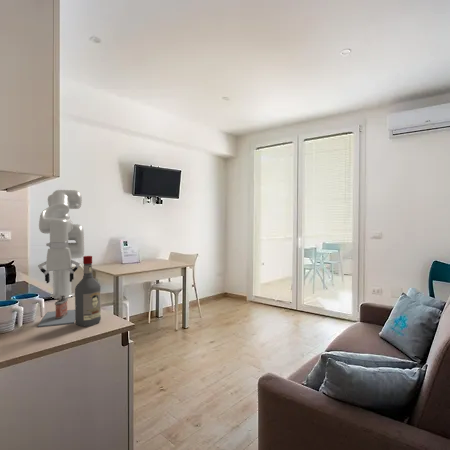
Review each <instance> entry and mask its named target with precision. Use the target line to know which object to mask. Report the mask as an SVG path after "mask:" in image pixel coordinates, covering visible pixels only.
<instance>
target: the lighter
mask: <svg viewBox="0 0 450 450" xmlns="http://www.w3.org/2000/svg"><path fill="white" fill-rule="evenodd" d="M68 299H69V298H65V295H60V296H59V297H57V299H56V301H55V302H54V305H55V311H56V317H55V319H62V318H64V317H65V316H67V315H68V312H67V310H68Z"/></svg>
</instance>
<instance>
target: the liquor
mask: <svg viewBox="0 0 450 450" xmlns="http://www.w3.org/2000/svg"><path fill="white" fill-rule="evenodd" d="M82 260H83V261H82V262H83V263H82V264H83V276H82V279H81V280H80V281H78V283H77V285H76V286H75V288H74V305H75V306H74V308H75V309H74V310H75V322H74V324H75V325H76V326H79V327H83V328H85V327H92V326H94V325H97V324H100V322H101V320H102V317H101V316H102V315H101V313H102V311H101V310H102V309H101V308H102V304H101V303H102V301H101V296H102V295H101V294H102V293H101V287H102V286H101V285H100V283H99V282H98V281H97V280H96V279H95V278H94V275H93V256H92V255H83V257H82Z"/></svg>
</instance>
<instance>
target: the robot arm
mask: <svg viewBox="0 0 450 450" xmlns="http://www.w3.org/2000/svg"><path fill="white" fill-rule="evenodd" d="M82 201H83V199H82V194H81V192H80V191H78V190H75V189H72V190H71V189H70V190H69V189H57V190H54V191H53V192H52V194H50V195H48V197H47V205H48V207H46V208H45V209H44V210H42V212H41V213H40V215H39V221H38V230H39V232H41V233H42V234H49V242H46V243H45V244H46V245H45V247H49V248H48V249H47V252H46V261H44V262H42V263H39V264H38V265H37V267H38V269H39V271H40V272H41V273H43V274H44V282H46V284H49V283H50V280H51V279H50V277H51V276H50V271H52V286H53V287H52V289H53V290H52V291H53V293H52V294H50V296H49V297H52V298H54V300H57V297H59V296H60V295H65V299H69V298H72V297H75V292H73V291H72V282H73V280H74V279H75V277H74V276H75V275H74V273H75V272H76V271H77V270H78V269H79V267H80V265H81V263H80V262H78V261H76V260H73V259H83V256H85V236H84V235H85V233H84V227H83V225H81V224H78V223H77V224H76V223H73V221H72V220H71V219H70V214H69V212H70V210H79V209H80V208H81V207H82V203H83V202H82ZM69 241H75V242H69ZM72 264H73V265H75V267H72V266H73V265H72ZM43 266H45V268H44V267H43ZM71 296H72V297H71ZM52 298H51V299H52Z"/></svg>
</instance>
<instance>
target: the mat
mask: <svg viewBox="0 0 450 450" xmlns="http://www.w3.org/2000/svg"><path fill="white" fill-rule="evenodd" d="M67 312H68V315H67V316H65V317H64V318H62V319H55V317H56V310H54V311H47V312H46V313H45V315H44V316H43V318H42V319H41V320H40V322H39V323H38V325H37V327H38V328H43V327H54V326H63V325H72V324H75V309H67Z"/></svg>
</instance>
